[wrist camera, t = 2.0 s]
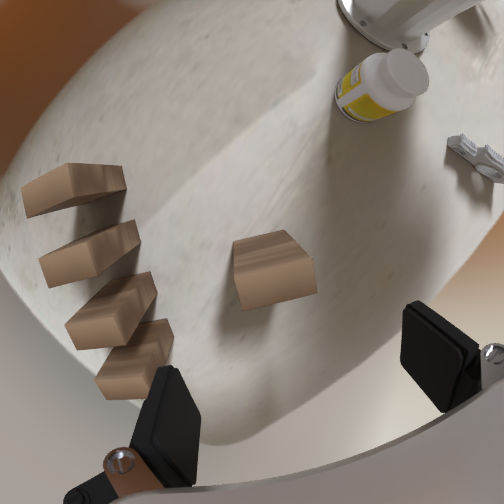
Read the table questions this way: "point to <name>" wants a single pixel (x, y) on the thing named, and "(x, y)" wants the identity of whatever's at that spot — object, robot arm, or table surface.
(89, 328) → the domino
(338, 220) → the table surface
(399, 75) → the supplement bottle
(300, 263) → the domino
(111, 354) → the domino
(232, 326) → the table surface
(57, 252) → the domino
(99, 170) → the domino
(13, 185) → the table surface
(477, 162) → the garden wall model
